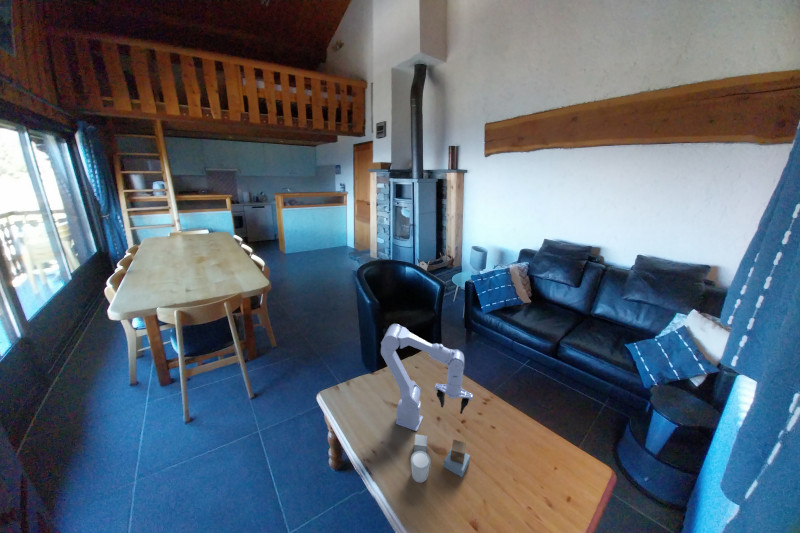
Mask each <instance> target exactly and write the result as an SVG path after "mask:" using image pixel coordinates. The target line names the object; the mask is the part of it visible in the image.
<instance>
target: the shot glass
mask: <svg viewBox="0 0 800 533" xmlns="http://www.w3.org/2000/svg"><path fill="white" fill-rule="evenodd" d="M431 461H432V460H431V457H430V455H429V454H428V453H427V452H426V453H425V452H423V451H417V452H415V453H414V452H413V453H412V454H411V457H410V467H411V477H412V479H413V480H414V481H415V482H416V483H423V482H426V480H428V477H429V473H430V467H431Z"/></svg>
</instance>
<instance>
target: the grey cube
mask: <svg viewBox="0 0 800 533" xmlns="http://www.w3.org/2000/svg"><path fill="white" fill-rule="evenodd" d="M414 436H415V437H414V443H413V454H414V453H415V452H417V451H423V452H425V453H427V447H428V435H424V434H415V435H414Z"/></svg>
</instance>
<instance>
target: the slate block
mask: <svg viewBox="0 0 800 533" xmlns="http://www.w3.org/2000/svg"><path fill="white" fill-rule="evenodd" d="M451 449H452V446H451V448H450V450H449V451H448V453H447V455H446V457H445V458H444V460H443V468H444V469H447V470H448V471H451V473H453V474H454V475H457V476H458V475H459V477H460V478H463V477H464V474H465V472H466V471H467V468H468V466H469V464H470V462H471V461H470V460H471V455H470V454H468V453H467V452H465V456H464V463H463V464H460V463H457V462H454V461H451Z"/></svg>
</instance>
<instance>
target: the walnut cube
mask: <svg viewBox="0 0 800 533" xmlns="http://www.w3.org/2000/svg"><path fill="white" fill-rule="evenodd" d="M452 440H453V441H452V445H451V447H452V449H451V448H450V449H451V461H454V462H457V463H460V464H463V463H464V456H465V453H466V449H467V448H466V446H467V443H466V442H465V441H461V440H456V439H452Z"/></svg>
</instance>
